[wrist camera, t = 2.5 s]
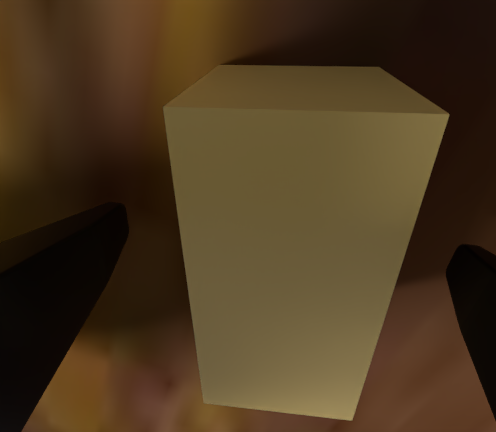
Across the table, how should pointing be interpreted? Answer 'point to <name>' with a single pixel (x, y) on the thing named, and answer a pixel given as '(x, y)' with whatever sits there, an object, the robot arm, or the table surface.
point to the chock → (295, 225)
